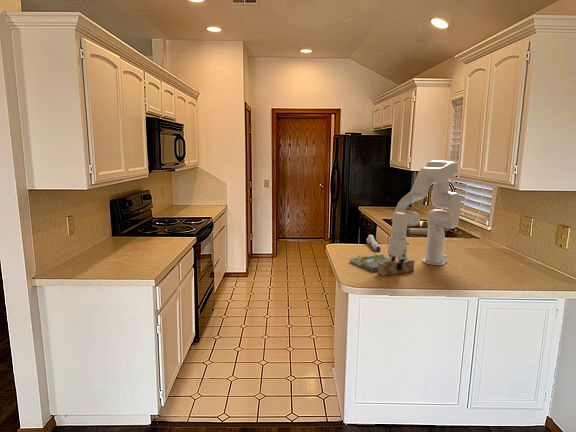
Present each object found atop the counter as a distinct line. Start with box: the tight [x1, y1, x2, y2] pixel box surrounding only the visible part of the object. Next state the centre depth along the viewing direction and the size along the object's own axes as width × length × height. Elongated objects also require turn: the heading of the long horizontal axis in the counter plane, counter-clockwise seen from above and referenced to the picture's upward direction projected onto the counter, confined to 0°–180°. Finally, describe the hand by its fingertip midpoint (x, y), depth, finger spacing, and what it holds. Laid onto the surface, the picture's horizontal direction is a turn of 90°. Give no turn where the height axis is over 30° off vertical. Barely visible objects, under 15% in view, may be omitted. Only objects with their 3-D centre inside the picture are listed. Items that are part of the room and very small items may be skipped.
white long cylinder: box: [366, 234, 381, 253], centre depth 276 cm, size 5×7×25 cm
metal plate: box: [361, 259, 391, 273], centre depth 229 cm, size 22×10×2 cm, turn 118°
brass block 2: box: [373, 252, 385, 261], centre depth 241 cm, size 4×4×4 cm
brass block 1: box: [356, 254, 368, 263], centre depth 235 cm, size 4×4×4 cm
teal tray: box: [349, 254, 390, 268], centre depth 238 cm, size 22×10×2 cm, turn 118°
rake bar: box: [376, 258, 415, 277], centre depth 219 cm, size 22×4×6 cm, turn 118°
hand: (396, 268), depth 220 cm, fingers open, 4 cm apart
